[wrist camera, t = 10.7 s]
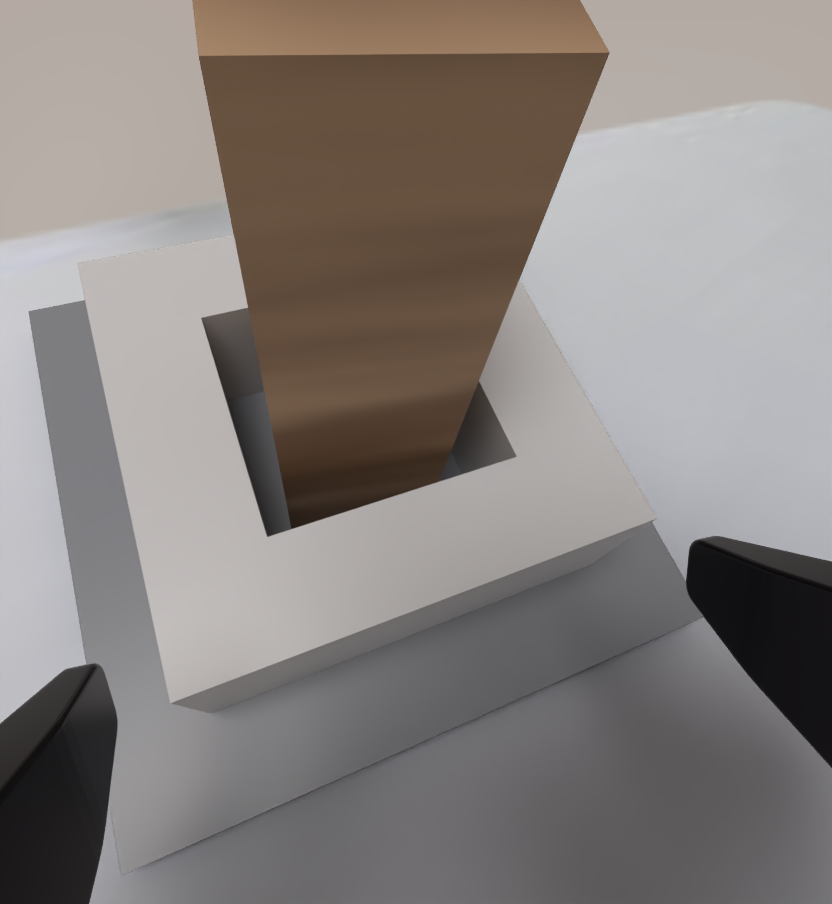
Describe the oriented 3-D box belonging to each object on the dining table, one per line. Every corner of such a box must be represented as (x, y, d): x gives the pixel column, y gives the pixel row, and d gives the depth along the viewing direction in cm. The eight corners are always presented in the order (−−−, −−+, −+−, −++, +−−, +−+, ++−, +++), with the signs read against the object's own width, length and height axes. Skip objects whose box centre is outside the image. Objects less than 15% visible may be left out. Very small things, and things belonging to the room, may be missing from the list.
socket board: (687, 622, 18) (802, 582, 14) (134, 867, 14) (40, 925, 9) (474, 240, 24) (506, 126, 20) (42, 330, 20) (-43, 210, 15)
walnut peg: (428, 507, 18) (610, 51, 6) (291, 530, 17) (198, 55, 5) (400, 392, 19) (501, -139, 8) (274, 408, 18) (174, -160, 7)
